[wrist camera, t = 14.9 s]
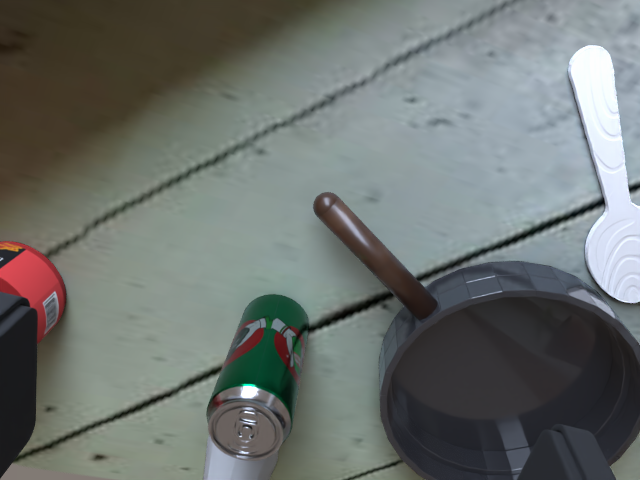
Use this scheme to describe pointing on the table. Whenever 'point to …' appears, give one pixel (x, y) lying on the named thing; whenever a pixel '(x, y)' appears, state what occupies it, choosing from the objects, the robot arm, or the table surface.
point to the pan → (506, 372)
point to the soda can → (259, 380)
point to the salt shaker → (236, 466)
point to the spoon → (607, 177)
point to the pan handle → (374, 255)
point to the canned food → (33, 283)
